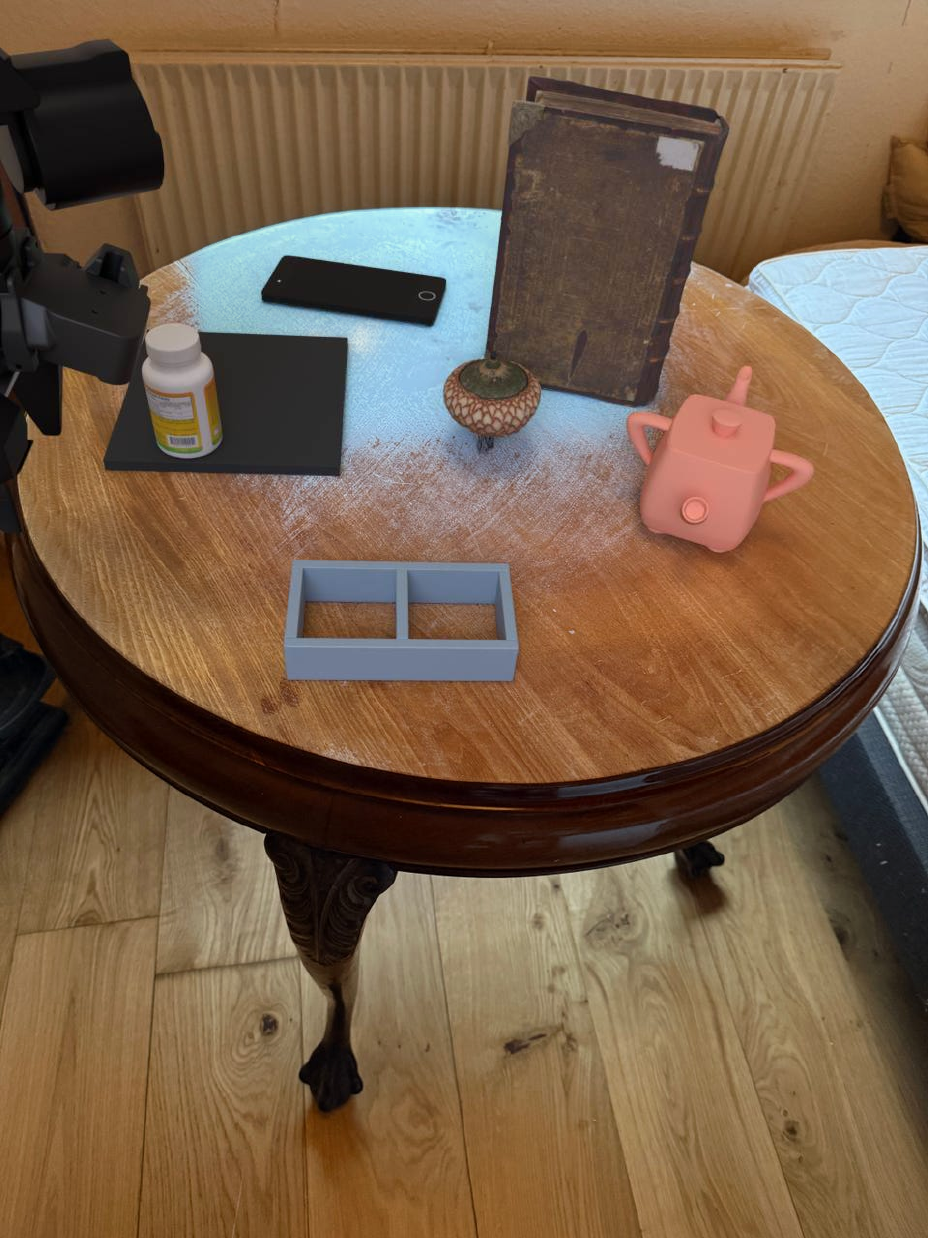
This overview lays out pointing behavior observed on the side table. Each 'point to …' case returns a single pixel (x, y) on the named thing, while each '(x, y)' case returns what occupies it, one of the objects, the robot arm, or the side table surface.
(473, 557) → the side table surface
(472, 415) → the acorn
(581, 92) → the book
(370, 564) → the holder
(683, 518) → the teapot
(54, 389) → the robot arm
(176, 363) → the supplement bottle
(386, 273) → the cell phone
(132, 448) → the mat
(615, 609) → the side table surface
